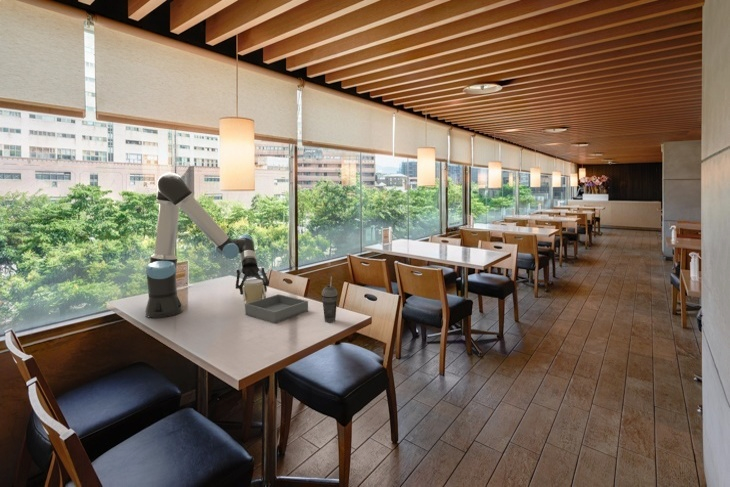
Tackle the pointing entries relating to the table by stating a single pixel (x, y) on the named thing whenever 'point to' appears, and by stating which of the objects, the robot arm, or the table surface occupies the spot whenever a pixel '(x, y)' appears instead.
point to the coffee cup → (253, 290)
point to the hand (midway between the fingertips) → (254, 298)
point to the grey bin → (276, 308)
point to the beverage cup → (329, 302)
